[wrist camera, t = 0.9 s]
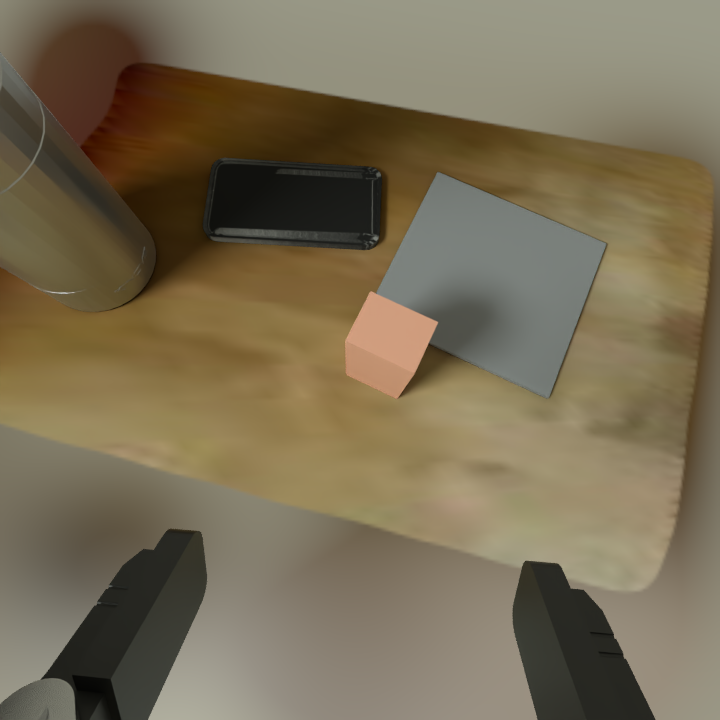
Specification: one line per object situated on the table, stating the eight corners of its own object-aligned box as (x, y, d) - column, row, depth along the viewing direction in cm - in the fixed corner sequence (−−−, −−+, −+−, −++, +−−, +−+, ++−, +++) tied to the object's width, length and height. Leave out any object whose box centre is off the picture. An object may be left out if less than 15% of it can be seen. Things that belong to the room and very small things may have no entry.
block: (345, 374, 35) (345, 340, 26) (364, 337, 36) (370, 291, 27) (397, 399, 35) (414, 373, 26) (414, 360, 36) (438, 322, 26)
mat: (365, 314, 36) (365, 313, 36) (436, 174, 40) (437, 171, 40) (546, 398, 35) (548, 397, 35) (604, 245, 39) (606, 243, 38)
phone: (378, 246, 37) (200, 235, 37) (377, 252, 38) (204, 242, 38) (382, 166, 39) (213, 155, 39) (381, 174, 40) (216, 164, 40)
